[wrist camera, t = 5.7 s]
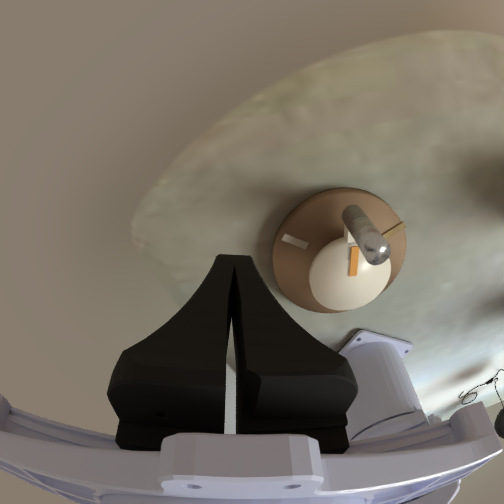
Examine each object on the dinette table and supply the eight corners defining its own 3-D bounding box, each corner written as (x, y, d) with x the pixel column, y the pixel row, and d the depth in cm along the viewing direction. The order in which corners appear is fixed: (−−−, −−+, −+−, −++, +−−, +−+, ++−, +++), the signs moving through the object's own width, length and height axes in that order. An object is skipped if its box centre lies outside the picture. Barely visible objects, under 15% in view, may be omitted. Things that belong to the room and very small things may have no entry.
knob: (381, 297, 22) (401, 338, 18) (308, 307, 22) (319, 353, 18) (394, 201, 18) (427, 235, 14) (307, 208, 18) (324, 247, 14)
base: (353, 315, 26) (360, 333, 24) (249, 281, 24) (249, 300, 22) (422, 222, 21) (436, 237, 20) (315, 162, 19) (323, 173, 17)
